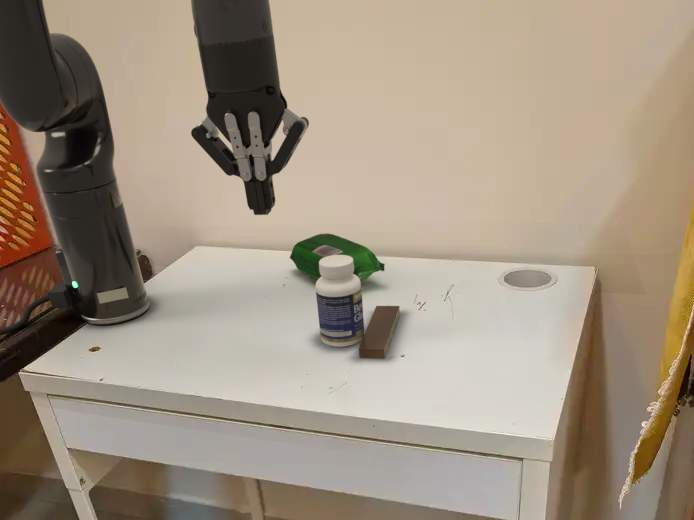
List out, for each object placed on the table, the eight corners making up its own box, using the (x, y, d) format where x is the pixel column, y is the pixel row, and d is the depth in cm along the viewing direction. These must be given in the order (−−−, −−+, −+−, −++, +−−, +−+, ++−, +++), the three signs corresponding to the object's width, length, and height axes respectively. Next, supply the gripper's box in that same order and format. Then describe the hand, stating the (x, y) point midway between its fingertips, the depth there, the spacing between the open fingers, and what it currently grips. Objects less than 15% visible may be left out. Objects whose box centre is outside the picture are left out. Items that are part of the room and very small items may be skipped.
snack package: (347, 301, 97) (344, 264, 94) (286, 271, 108) (282, 236, 105) (388, 287, 100) (387, 250, 97) (326, 259, 111) (323, 225, 108)
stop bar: (359, 357, 84) (358, 348, 83) (376, 314, 93) (376, 305, 92) (384, 358, 83) (384, 349, 82) (399, 314, 92) (399, 305, 92)
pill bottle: (365, 346, 86) (359, 267, 80) (320, 349, 86) (311, 270, 80) (364, 327, 90) (359, 250, 84) (322, 330, 90) (313, 253, 85)
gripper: (309, 24, 72) (327, 201, 82) (186, 35, 75) (219, 204, 85) (289, 33, 66) (311, 222, 76) (157, 44, 69) (196, 225, 79)
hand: (262, 212), depth 81 cm, fingers closed
